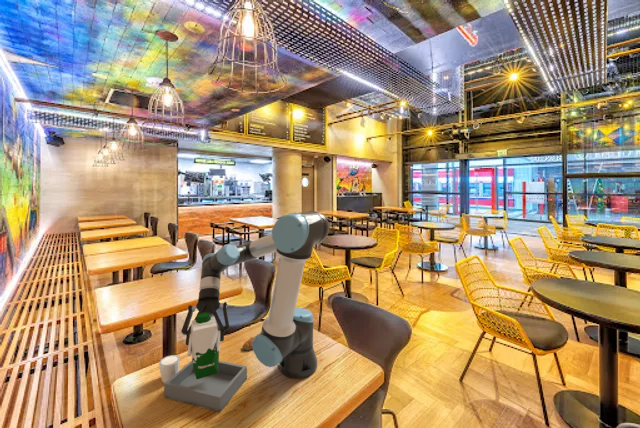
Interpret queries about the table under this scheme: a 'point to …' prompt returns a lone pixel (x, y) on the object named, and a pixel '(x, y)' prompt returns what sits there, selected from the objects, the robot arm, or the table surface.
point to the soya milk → (204, 345)
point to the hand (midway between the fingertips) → (204, 353)
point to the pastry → (248, 344)
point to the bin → (206, 386)
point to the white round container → (169, 367)
